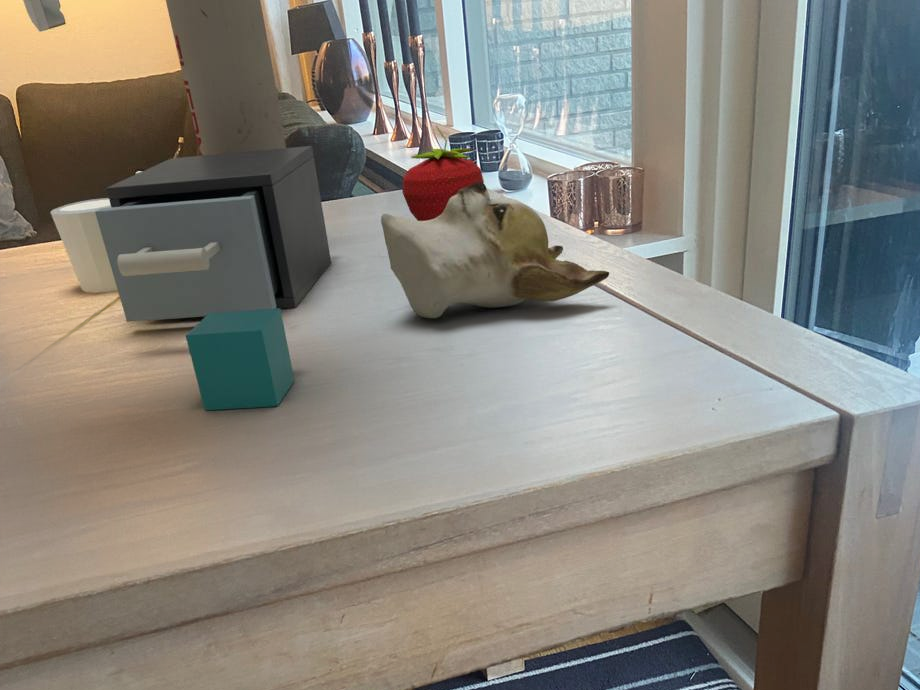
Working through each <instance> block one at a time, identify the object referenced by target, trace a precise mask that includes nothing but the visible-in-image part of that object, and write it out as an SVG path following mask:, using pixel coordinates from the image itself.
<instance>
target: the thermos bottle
mask: <svg viewBox="0 0 920 690" xmlns="http://www.w3.org/2000/svg"><path fill="white" fill-rule="evenodd" d="M261 2H262V1H261V0H165V4H166V7H167V12H168V17H169V22H170V25H171V30H172V34H173V35H172V36H173V39H174V43H175V47H176V53H177V56H178V61H179V65H180V70H181V74H182V79H183V83H184V88H185V91H186V97H187V100H188V105H189V110H190V113H191V118H192V123H193V127H194V133H195V135H196V141H197V144H198V149H199V153H200V154H199V155H200V156H204V155H215V154H227V153H238V152H249V151H260V150H271V149H282V148H287V146H286V138H285V137H286V136H285V129H284V124H283V118H282V112H281V107H280V101H279V96H278V90H277V83H276V79H275V73H274V67H273V63H272V56H271V51H270V46H269V45H270V44H269V39H268V35H267V30H266V24H265V23H266V22H265V17H264V13H263V7H262V3H261Z"/></svg>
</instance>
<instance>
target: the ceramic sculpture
mask: <svg viewBox="0 0 920 690" xmlns="http://www.w3.org/2000/svg"><path fill="white" fill-rule="evenodd" d="M380 223H381V227H382V232H383V235H384V236H383V238H384V242H385V246H386V250H387V254H388V259H389V264H390V269H391V271H392V272H393V274H394V275H395V277H396V278H397V280H398V282H399V283H400V285H401V287H402V289H403V292H404V294H405V296H406V298H407V301H408V303H409V306H410V307H411V309H412V310H413V312H414V313H415V314H417V315H418V316H419V317H422V318H425V319H437V318H439V317H441V316H442V315H443V314H444V312H445V311H446V310H447V309H448V308H449V307H450V306H452V305H456V304H457V305H458V304H468V305H472V306H477V307H480V308H481V307H482V308H493V309H494V308H503V307H509V306H510V307H511V306H516V305H519V304H520V303H522V302H524V301H525V300H531V301H538V302H557V301H560V300H564V299H568V298H569V297H573V296H575V295H578V294H579V293H581V292H583V291H585V290H588V289H590V288H591V287H593V286H595V285H597V284H599V283H601V282H603V281H604V280H606V279H608V277H609V276H610V271H607V270H595V269H594V270H593V269H591V270H587V269H586V268H584V267H583V266H581V265H579V264H578V263H575V262H572V261H569V260H559V259H557V258H558V257H559V256H560V255H562V253H563V251H564V246H563V245H553V246H550V247H549V242H550V241H549V237H548V232H547V228H546V225H545V223H544V221H543V219H542V217H541V216H540V215H539V213H538V212H537V211H536V210H534V209H533V207H531V206H529V205H528V204H526V203H524V202H522V201H520V200H517V199H515V198H510V197H502V198H495V199H493V198H492V199H491V197H490V194H489V190H488V189H487V186H486V185H485V182H484V183H483V182H477V183H474V184H472V185H470V186H468V187H466V188H462V189H460V190H459V191H458V193H457V194H456V195H454V196H452V197H451V198H450V199H449V201H448V203H447V206H446V208H445V210H444V211H443V213H442V214H441V215H439V216H438V217H436V218H434V219H432V220H427V221H418V220H415V219H411V218H409V217H408V218H407V217H402V216H394V215H391V214H388V213H383V214H382V215H381V216H380Z"/></svg>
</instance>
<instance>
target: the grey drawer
mask: <svg viewBox="0 0 920 690" xmlns="http://www.w3.org/2000/svg"><path fill="white" fill-rule="evenodd" d="M262 187H263V186H260V187H248V188H237V189H225V190H213V191H202V192H190V193H178V194H167V195H155V196H143V197H137V198H135V199H133V200H131V201H130V202H128V203H126V204H124V205H122V206H120V207H111V208H101V209H99V210H97V211H95V214H96V217H97V220H98V224H99V227H100V231H101V234H102V238H103V241H104V245H105V248H106V251H107V255H108V258H109V262H110V265H111V269H112V272H113V276H114V279H115V282H116V286H117V289H118V291H117V293H118V297H119V300H120V302H121V306H122V310H123V313H124V316H125V320H126V322H128V323H133V322H145V321H146V322H147V321H159V320H161V321H162V320H175V319H187V318H201V317H203V318H204V317H206V316H207V315H208V314H209V313H219V312H233V311H247V310H261V309H275V308H276V302H275V297H274V295H275V294H276V293H277V292H278V291H279V289H280V288H281V287H282V285H281V280H280V275H279V270H278V264H277V259H276V254H275V249H274V244H273V239H272V234H271V229H270V224H269V219H268V214H267V208H266V203H265V198H264V193H263V188H262Z"/></svg>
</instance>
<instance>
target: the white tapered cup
mask: <svg viewBox="0 0 920 690" xmlns="http://www.w3.org/2000/svg"><path fill="white" fill-rule="evenodd" d="M109 200H110V199H109V197H101V198H100V197H99V198H93V199H86V200H81V201H76V202H72V203H67V204H64V205H61V206H58V207H56V208H54V209H52V210H51V211H50V215H51V218H52V220H53V222H54V225H55V228H56V230H57V232H58V234H59V237H60V239H61V242H62V244H63V247H64V249H65V252H66V254H67V257H68V259H69V261H70V264H71V266H72V269H73V271H74V274H75V276H76V279H77V281H78V284H79V286H80V289H81V291H83V292H84V293H90V294H97V293H99V294H100V293H111V292H118V289H117V286H116V282H115V279H114V276H113V272H112V269H111V265H110V262H109V258H108V255H107V251H106V248H105V245H104V241H103V238H102V234H101V231H100V227H99V224H98V220H97V217H96V214H95V211H97V210H99V209H101V208H111V204H110V201H109Z"/></svg>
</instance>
